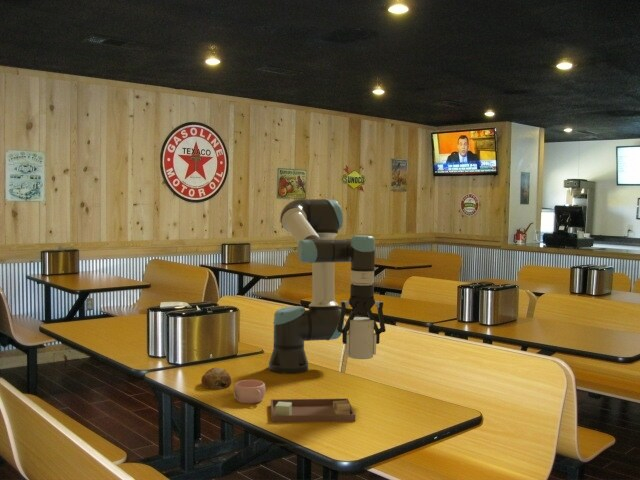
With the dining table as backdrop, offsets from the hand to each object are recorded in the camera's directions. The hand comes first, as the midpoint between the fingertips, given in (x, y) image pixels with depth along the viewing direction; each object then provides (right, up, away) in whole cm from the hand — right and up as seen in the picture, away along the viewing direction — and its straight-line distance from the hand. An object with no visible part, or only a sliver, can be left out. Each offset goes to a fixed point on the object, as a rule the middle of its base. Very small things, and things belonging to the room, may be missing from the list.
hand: (360, 353), depth 215 cm
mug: (-35, -15, -5) cm, 38 cm away
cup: (0, -1, 0) cm, 1 cm away
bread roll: (-49, -14, +14) cm, 53 cm away
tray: (-16, -16, -16) cm, 27 cm away
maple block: (-7, -15, -18) cm, 25 cm away
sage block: (-24, -15, -21) cm, 35 cm away
